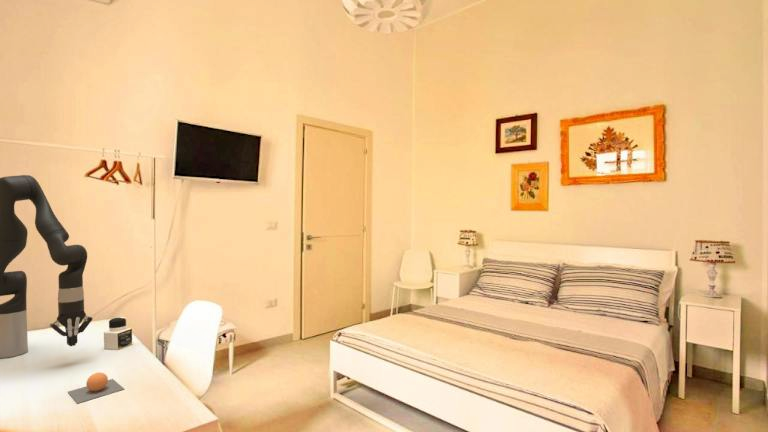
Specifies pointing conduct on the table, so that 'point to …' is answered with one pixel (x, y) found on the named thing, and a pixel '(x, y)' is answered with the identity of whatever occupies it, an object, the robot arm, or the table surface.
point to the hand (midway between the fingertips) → (72, 345)
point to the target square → (94, 392)
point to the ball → (97, 382)
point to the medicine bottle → (117, 334)
